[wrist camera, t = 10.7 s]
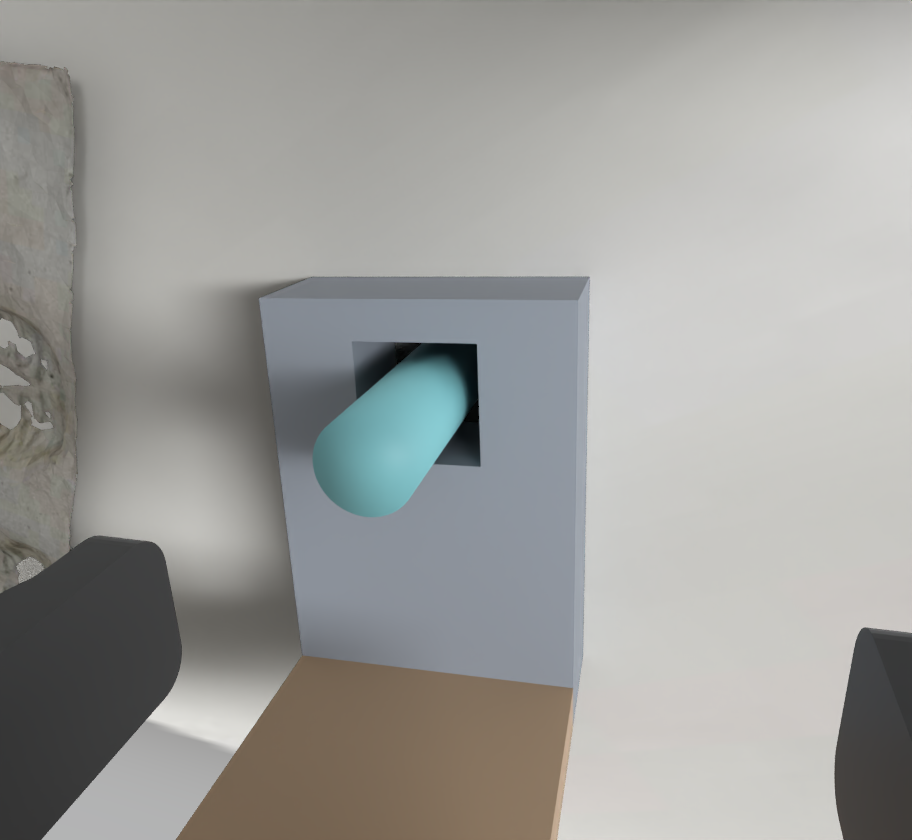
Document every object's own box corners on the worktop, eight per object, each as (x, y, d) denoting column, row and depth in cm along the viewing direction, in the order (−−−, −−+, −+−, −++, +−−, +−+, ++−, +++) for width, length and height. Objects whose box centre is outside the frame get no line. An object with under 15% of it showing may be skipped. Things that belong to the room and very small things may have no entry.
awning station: (290, 277, 34) (-226, 470, 14) (615, 276, 31) (540, 526, 11) (328, 627, 40) (1, 1114, 20) (604, 657, 37) (543, 1275, 17)
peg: (410, 331, 34) (307, 412, 24) (487, 333, 33) (413, 416, 23) (414, 406, 35) (317, 513, 25) (489, 409, 34) (420, 520, 24)
